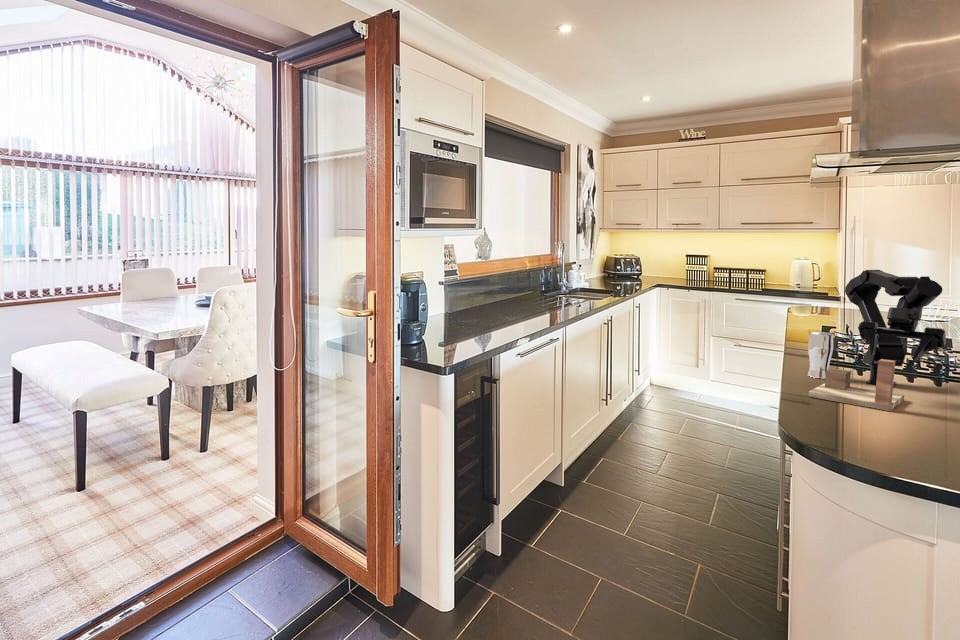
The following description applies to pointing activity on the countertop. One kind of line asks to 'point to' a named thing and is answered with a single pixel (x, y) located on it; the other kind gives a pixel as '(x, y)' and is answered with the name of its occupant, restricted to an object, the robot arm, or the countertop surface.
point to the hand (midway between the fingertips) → (892, 358)
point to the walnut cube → (837, 379)
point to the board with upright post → (866, 391)
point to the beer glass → (819, 353)
